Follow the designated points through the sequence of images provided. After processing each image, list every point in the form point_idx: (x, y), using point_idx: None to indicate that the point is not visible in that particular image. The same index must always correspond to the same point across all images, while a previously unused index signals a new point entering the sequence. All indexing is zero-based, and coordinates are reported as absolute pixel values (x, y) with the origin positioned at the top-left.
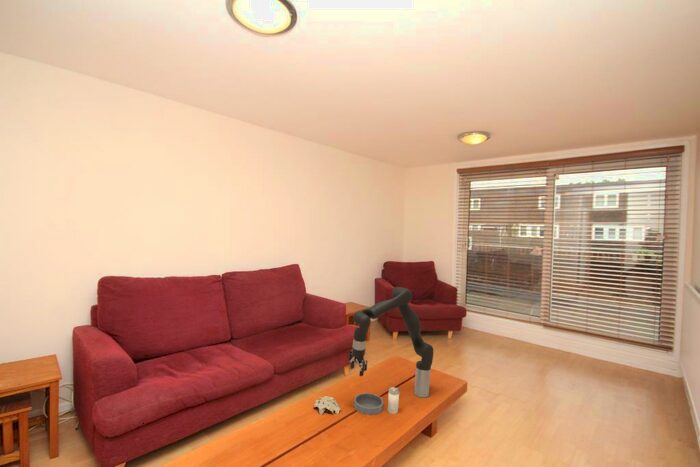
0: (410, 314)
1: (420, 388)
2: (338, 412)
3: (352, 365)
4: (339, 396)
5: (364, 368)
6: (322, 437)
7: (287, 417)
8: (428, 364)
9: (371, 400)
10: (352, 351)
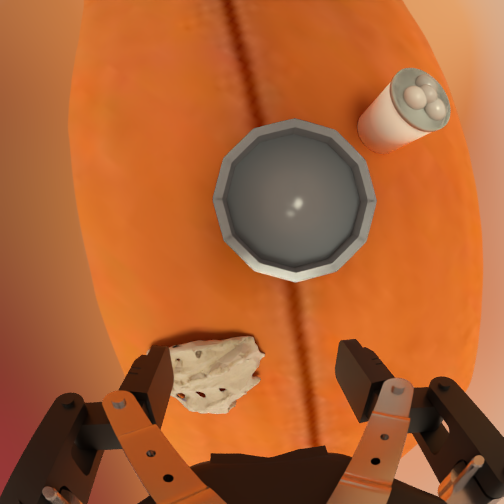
0: None
1: None
2: (262, 354)
3: (162, 391)
4: (150, 267)
5: (434, 414)
6: (338, 444)
7: (198, 463)
8: None
9: (268, 157)
10: None
